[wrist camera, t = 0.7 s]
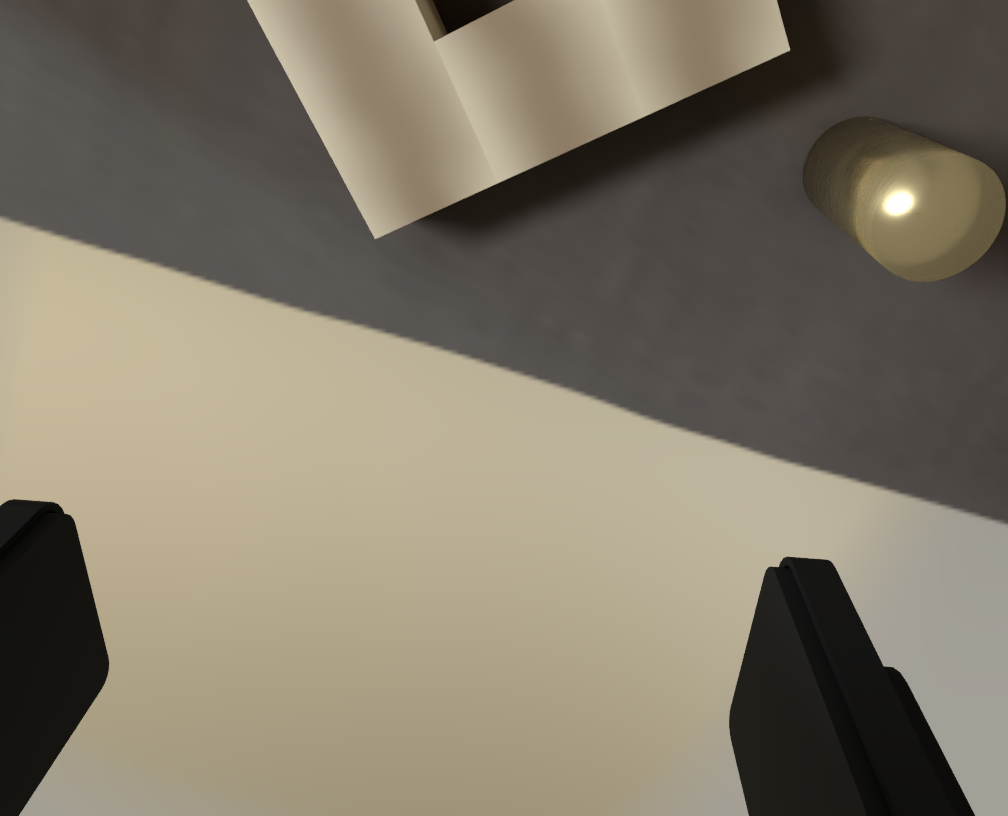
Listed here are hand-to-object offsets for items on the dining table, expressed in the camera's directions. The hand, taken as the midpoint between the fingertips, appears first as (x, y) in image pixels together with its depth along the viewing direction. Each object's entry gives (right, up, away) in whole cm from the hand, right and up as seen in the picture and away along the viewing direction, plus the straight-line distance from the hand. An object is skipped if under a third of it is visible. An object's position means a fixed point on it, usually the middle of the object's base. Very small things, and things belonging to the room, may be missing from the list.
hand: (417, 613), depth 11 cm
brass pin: (+15, +12, +21) cm, 29 cm away
